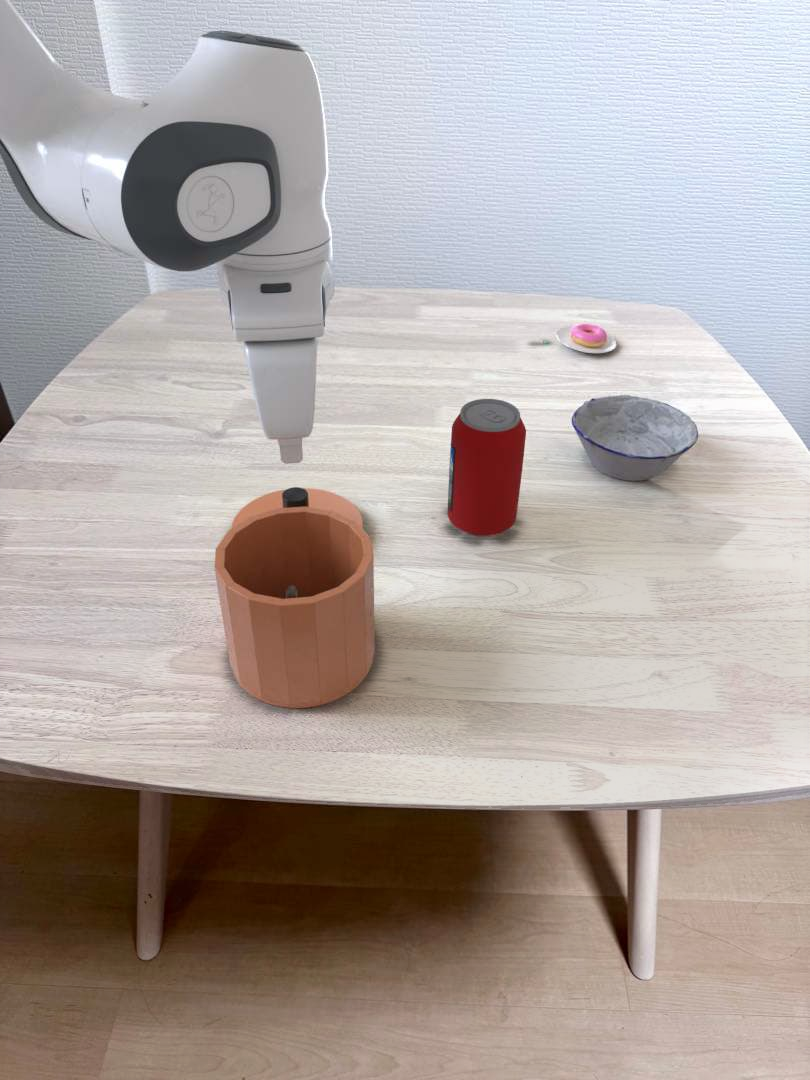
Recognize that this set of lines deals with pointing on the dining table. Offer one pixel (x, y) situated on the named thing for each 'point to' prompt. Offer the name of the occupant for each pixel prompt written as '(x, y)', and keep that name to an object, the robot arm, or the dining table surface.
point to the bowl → (633, 435)
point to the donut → (586, 338)
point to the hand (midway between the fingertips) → (290, 429)
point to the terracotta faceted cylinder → (297, 605)
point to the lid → (299, 503)
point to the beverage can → (485, 467)
